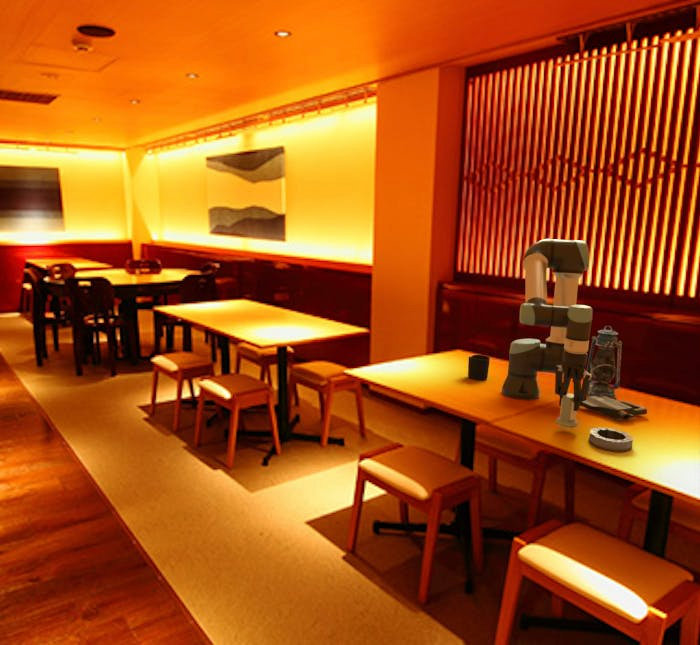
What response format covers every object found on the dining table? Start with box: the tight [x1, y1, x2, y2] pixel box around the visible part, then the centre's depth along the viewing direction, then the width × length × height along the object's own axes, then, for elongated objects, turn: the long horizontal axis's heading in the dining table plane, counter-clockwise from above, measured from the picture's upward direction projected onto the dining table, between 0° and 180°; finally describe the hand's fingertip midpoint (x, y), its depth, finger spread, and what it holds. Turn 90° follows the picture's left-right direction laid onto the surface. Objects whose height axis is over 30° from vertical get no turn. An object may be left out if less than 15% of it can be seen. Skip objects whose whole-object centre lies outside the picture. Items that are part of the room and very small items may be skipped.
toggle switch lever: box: [555, 393, 579, 429], centre depth 192 cm, size 7×7×10 cm
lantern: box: [586, 325, 623, 400], centre depth 234 cm, size 15×12×30 cm
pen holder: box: [467, 354, 491, 382], centre depth 255 cm, size 9×9×10 cm
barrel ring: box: [588, 427, 634, 453], centre depth 183 cm, size 13×13×3 cm
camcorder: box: [580, 396, 648, 422], centre depth 215 cm, size 16×20×5 cm
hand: (567, 417), depth 192 cm, fingers closed on toggle switch lever, 3 cm apart
